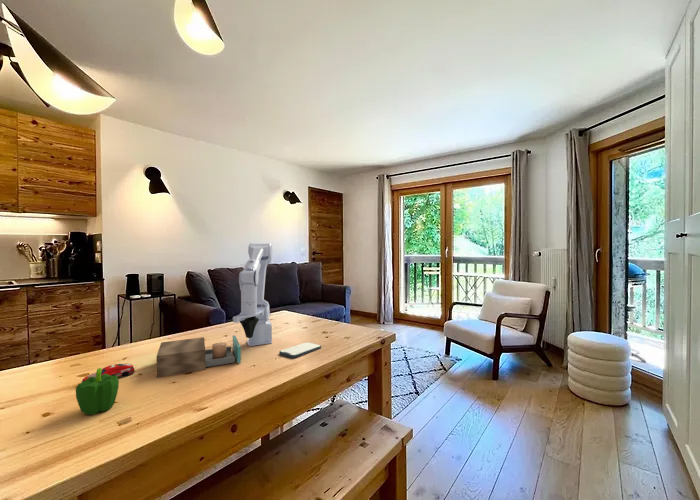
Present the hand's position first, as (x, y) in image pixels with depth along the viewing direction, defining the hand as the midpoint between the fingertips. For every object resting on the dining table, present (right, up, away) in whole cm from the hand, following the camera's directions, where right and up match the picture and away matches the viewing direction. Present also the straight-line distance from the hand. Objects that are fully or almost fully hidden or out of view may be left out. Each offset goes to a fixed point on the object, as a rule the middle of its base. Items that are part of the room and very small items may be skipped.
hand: (249, 337), depth 118 cm
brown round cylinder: (-9, -6, -5) cm, 12 cm away
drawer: (-10, -6, -5) cm, 13 cm away
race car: (-37, -8, -21) cm, 43 cm away
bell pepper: (-25, -7, -40) cm, 47 cm away
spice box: (-20, -7, -10) cm, 23 cm away
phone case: (+19, -7, +4) cm, 21 cm away
